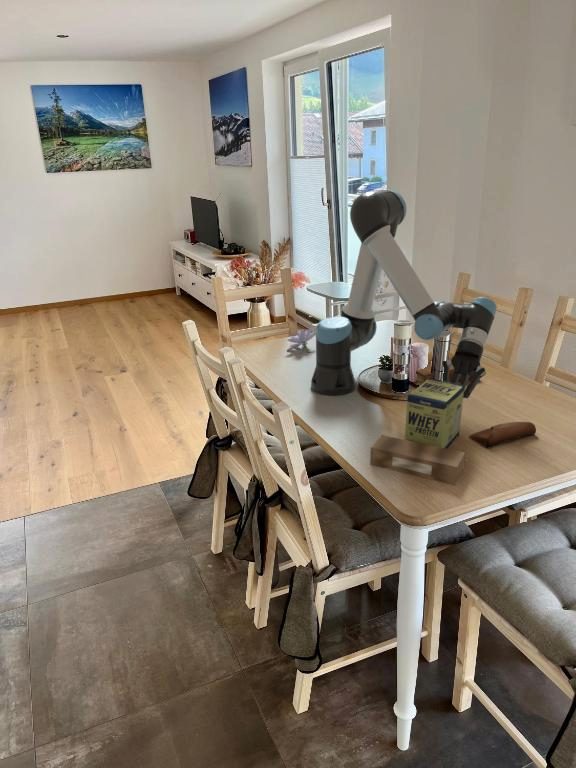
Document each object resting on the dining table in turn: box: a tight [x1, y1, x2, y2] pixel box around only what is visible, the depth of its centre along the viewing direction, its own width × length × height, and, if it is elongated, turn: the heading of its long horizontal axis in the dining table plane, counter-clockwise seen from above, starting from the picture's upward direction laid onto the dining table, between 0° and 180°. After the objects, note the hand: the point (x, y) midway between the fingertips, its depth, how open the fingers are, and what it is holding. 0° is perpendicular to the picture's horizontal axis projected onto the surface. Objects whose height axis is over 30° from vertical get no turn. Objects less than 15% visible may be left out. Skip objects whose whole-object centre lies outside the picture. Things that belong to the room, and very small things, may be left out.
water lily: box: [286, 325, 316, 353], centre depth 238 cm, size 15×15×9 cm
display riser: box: [369, 434, 466, 486], centre depth 150 cm, size 22×8×5 cm, turn 61°
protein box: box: [404, 378, 465, 449], centre depth 161 cm, size 10×16×16 cm
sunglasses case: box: [468, 421, 537, 449], centre depth 165 cm, size 18×7×7 cm
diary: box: [416, 351, 476, 384], centre depth 210 cm, size 23×19×6 cm
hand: (447, 416), depth 169 cm, fingers closed
